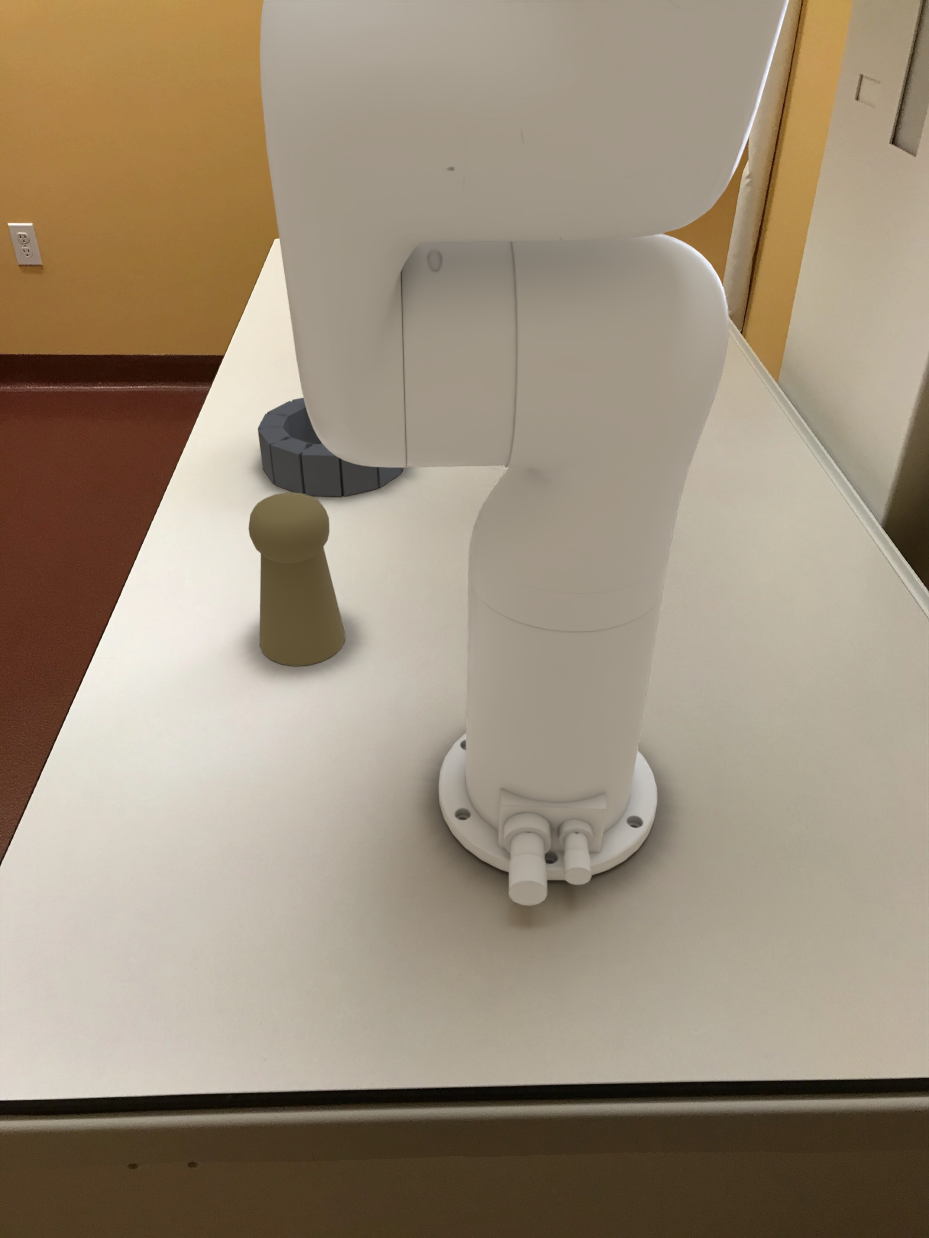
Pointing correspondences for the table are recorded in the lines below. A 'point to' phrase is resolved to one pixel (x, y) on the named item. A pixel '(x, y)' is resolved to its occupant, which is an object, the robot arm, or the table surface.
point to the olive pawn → (295, 580)
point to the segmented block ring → (311, 457)
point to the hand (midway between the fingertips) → (505, 134)
